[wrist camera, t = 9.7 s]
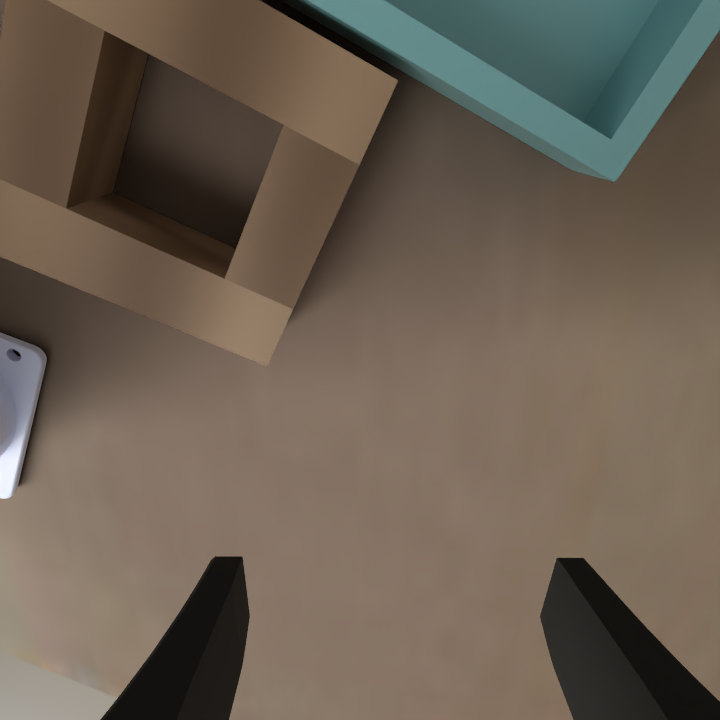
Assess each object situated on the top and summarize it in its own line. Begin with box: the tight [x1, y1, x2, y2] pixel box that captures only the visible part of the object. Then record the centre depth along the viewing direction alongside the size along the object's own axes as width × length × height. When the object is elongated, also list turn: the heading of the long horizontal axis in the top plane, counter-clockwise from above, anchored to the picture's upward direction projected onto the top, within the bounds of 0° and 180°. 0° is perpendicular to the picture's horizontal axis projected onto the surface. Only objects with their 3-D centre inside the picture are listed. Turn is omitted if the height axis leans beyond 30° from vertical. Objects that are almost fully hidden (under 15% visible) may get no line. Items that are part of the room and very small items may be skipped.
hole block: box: [0, 0, 398, 366], centre depth 14 cm, size 9×9×3 cm
